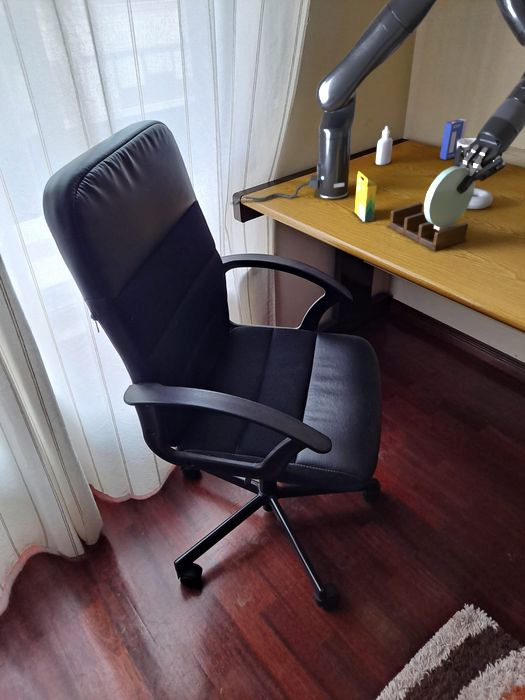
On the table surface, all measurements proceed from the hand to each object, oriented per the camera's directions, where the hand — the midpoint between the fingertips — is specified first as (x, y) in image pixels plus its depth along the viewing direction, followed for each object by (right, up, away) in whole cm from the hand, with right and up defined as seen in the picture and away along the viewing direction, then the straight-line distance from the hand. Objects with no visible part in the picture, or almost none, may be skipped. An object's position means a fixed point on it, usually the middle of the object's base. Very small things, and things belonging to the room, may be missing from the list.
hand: (455, 190), depth 117 cm
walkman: (+21, +30, +57) cm, 68 cm away
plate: (-1, -7, +5) cm, 9 cm away
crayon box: (-17, -1, +21) cm, 27 cm away
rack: (-3, -8, +11) cm, 14 cm away
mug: (+20, +19, +43) cm, 51 cm away
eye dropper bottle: (-3, +27, +55) cm, 62 cm away
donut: (+14, +4, +24) cm, 28 cm away
